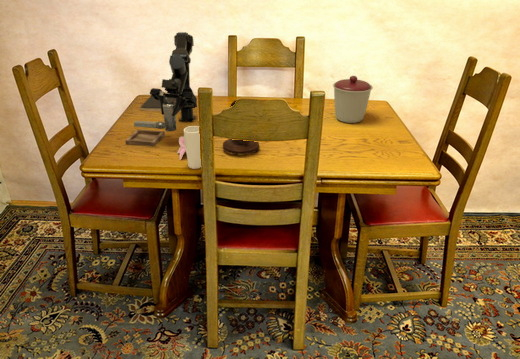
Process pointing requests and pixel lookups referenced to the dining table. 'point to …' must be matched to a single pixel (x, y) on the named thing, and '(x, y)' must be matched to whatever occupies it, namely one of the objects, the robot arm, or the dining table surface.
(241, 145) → the dark round disc base
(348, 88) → the canister
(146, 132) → the taupe tray
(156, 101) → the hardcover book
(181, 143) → the lily
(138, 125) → the grey ratchet handle
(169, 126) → the polished metal cylinder
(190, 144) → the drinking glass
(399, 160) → the dining table surface
